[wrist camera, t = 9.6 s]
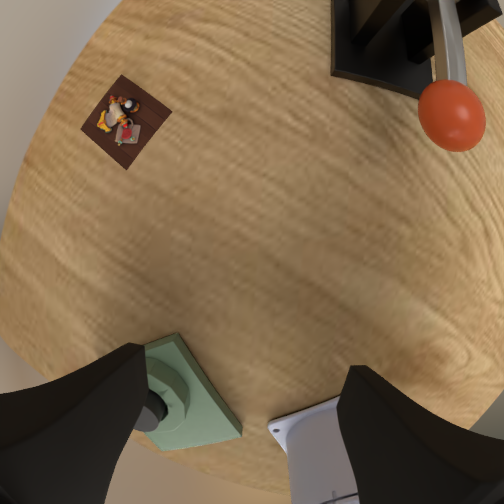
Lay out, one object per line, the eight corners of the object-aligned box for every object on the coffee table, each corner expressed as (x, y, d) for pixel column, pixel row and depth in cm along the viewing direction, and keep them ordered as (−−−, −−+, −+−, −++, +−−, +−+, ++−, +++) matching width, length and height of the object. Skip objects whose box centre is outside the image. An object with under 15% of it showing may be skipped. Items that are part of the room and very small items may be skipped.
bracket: (426, 102, 15) (528, 64, 5) (330, 75, 14) (397, -14, 5) (415, 7, 13) (479, -52, 3) (329, -20, 12) (364, -107, 3)
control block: (242, 426, 20) (241, 453, 17) (164, 442, 21) (157, 465, 18) (177, 332, 18) (165, 356, 15) (97, 360, 19) (80, 381, 16)
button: (173, 412, 17) (167, 429, 15) (141, 418, 17) (134, 434, 15) (148, 380, 16) (140, 397, 15) (117, 389, 17) (107, 404, 15)
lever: (455, 158, 10) (498, 162, 7) (403, 142, 10) (444, 139, 7) (440, -19, 7) (466, -39, 4) (393, -40, 7) (414, -67, 4)
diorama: (121, 87, 15) (106, 77, 13) (159, 115, 15) (146, 106, 13) (94, 123, 15) (76, 117, 13) (129, 153, 16) (113, 150, 14)
